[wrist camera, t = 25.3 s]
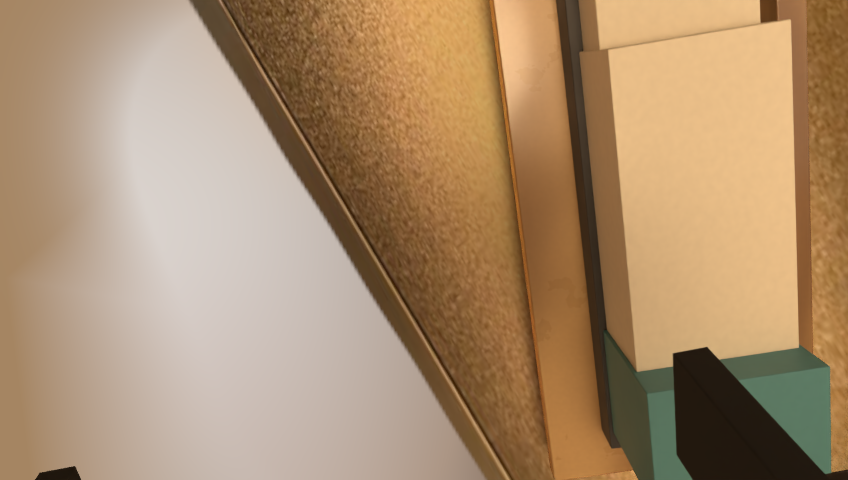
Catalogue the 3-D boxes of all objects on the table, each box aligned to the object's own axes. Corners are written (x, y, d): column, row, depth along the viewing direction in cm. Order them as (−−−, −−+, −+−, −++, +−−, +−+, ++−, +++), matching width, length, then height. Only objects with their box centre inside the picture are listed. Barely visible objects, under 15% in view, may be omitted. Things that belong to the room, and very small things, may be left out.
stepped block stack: (742, 409, 38) (836, 510, 30) (601, 430, 39) (654, 536, 30) (720, -38, 32) (831, -76, 24) (554, -10, 33) (603, -37, 24)
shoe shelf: (542, 444, 43) (561, 503, 38) (476, -53, 36) (488, -76, 30) (762, 412, 43) (816, 467, 37) (741, -99, 35) (804, -131, 30)
